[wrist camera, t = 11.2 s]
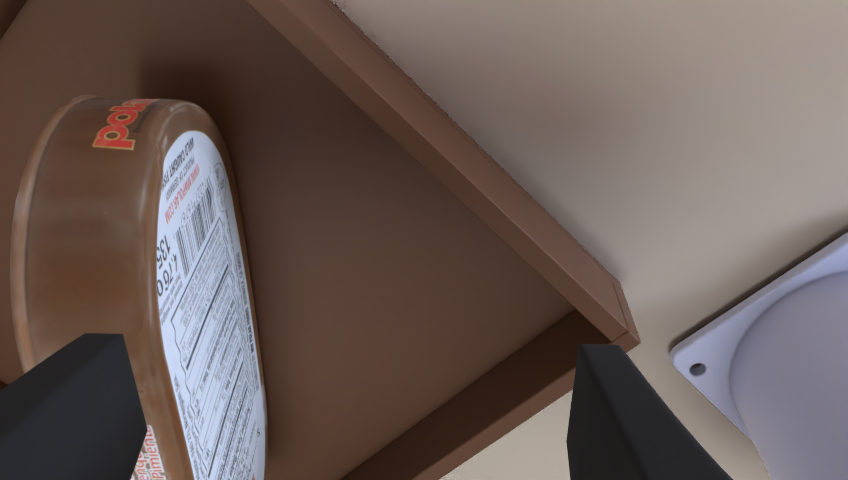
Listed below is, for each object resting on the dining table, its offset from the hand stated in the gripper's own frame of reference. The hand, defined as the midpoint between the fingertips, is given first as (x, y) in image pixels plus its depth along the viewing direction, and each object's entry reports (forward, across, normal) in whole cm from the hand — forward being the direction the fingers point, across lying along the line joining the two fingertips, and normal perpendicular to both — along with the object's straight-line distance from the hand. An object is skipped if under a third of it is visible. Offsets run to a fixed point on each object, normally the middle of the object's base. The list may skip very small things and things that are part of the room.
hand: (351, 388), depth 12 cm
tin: (+10, +6, +5) cm, 13 cm away
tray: (+10, +6, +5) cm, 13 cm away
